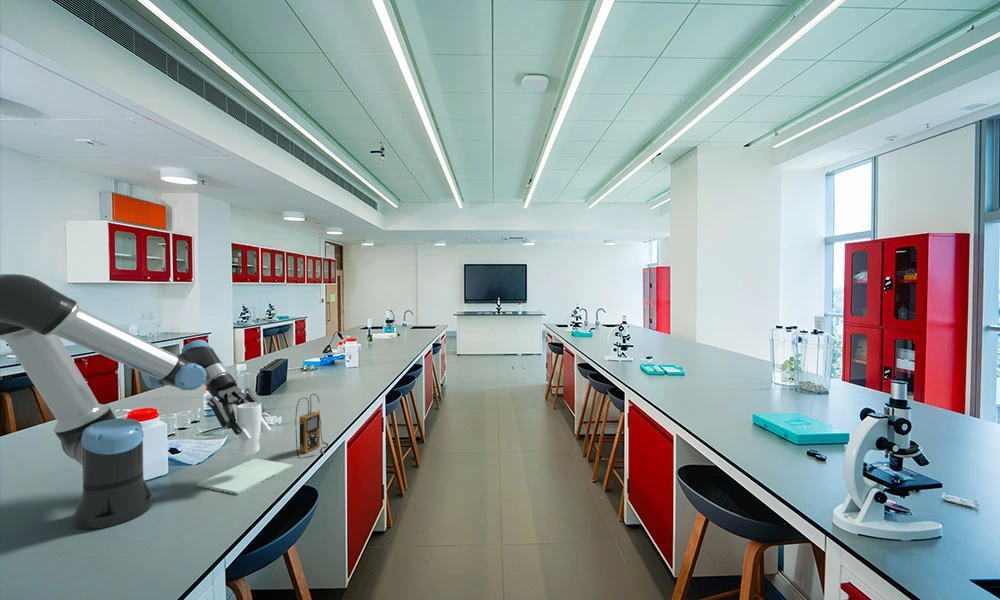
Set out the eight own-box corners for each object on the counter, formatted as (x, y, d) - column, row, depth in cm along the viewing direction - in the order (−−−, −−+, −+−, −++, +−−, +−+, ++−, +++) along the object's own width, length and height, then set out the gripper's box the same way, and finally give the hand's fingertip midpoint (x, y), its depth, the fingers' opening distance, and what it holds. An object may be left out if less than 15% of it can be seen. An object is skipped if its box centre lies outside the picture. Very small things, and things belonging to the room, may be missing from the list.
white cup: (267, 448, 137) (266, 402, 136) (252, 457, 130) (251, 408, 130) (247, 447, 138) (246, 401, 137) (232, 456, 131) (231, 407, 130)
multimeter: (314, 460, 146) (313, 402, 145) (291, 456, 149) (290, 400, 148) (343, 445, 159) (342, 392, 159) (321, 442, 163) (321, 390, 162)
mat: (237, 494, 121) (237, 491, 121) (197, 486, 126) (197, 483, 126) (292, 467, 140) (292, 464, 140) (255, 460, 145) (255, 458, 145)
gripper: (239, 381, 147) (277, 433, 143) (181, 395, 129) (222, 455, 124) (251, 367, 145) (289, 419, 141) (193, 379, 127) (236, 440, 122)
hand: (258, 436), depth 133 cm, fingers closed on white cup, 7 cm apart
